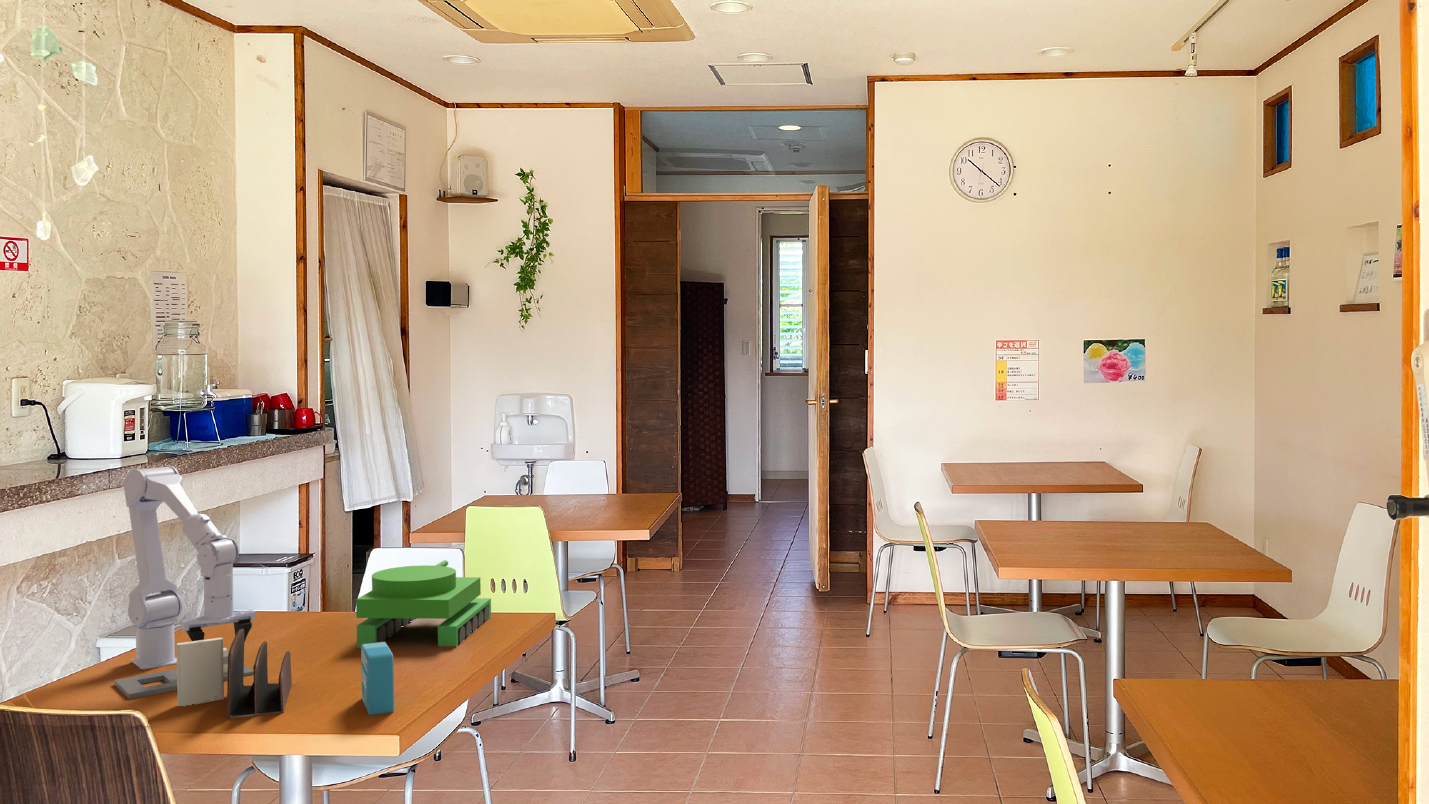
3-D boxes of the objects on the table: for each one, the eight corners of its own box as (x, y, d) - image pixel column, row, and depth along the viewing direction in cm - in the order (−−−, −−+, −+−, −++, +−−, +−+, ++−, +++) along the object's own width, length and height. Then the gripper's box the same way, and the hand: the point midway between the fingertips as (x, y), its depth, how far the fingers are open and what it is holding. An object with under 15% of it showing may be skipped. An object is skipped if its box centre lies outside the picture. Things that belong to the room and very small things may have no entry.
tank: (498, 617, 281) (497, 556, 280) (458, 653, 246) (457, 583, 245) (408, 617, 282) (407, 556, 282) (355, 652, 247) (354, 583, 247)
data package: (361, 703, 209) (360, 642, 209) (385, 699, 211) (384, 639, 211) (369, 721, 198) (368, 657, 198) (394, 717, 200) (393, 654, 200)
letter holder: (226, 723, 198) (225, 648, 198) (240, 692, 217) (238, 623, 217) (284, 717, 201) (282, 643, 201) (292, 687, 220) (291, 620, 220)
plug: (205, 671, 232) (204, 648, 232) (222, 668, 234) (221, 645, 234) (215, 678, 226) (214, 655, 226) (232, 675, 229) (232, 652, 228)
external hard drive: (224, 701, 211) (223, 638, 210) (178, 708, 206) (177, 645, 206) (223, 698, 212) (221, 637, 212) (177, 706, 208) (176, 643, 207)
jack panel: (114, 684, 222) (114, 678, 222) (235, 663, 238) (235, 657, 238) (129, 699, 212) (129, 692, 212) (254, 675, 228) (254, 669, 228)
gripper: (187, 603, 221) (188, 668, 221) (259, 593, 231) (260, 655, 231) (178, 598, 226) (179, 661, 227) (249, 588, 236) (250, 649, 236)
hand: (220, 658), depth 229 cm, fingers open, 7 cm apart
